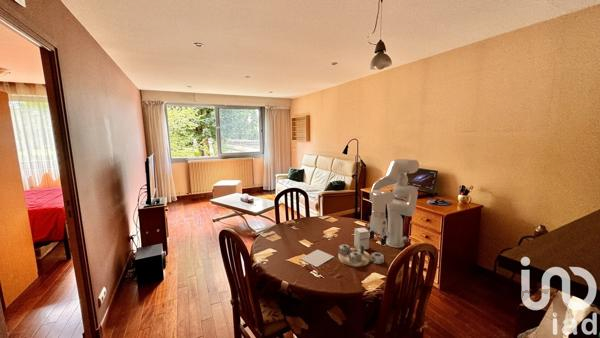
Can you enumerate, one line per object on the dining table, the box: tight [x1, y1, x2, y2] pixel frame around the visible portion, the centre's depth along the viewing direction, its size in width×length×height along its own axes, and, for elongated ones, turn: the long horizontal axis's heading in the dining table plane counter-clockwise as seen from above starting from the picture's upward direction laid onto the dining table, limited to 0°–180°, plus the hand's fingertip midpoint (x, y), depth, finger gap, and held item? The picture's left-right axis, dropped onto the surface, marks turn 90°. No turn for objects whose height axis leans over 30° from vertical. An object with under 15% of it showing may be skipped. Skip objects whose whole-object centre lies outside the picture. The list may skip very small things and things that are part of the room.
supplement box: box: [353, 227, 370, 250], centre depth 161 cm, size 7×7×13 cm
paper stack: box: [300, 249, 335, 268], centre depth 142 cm, size 23×25×1 cm
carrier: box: [338, 244, 371, 268], centre depth 147 cm, size 19×19×7 cm
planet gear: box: [370, 251, 385, 265], centre depth 143 cm, size 7×7×4 cm
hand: (377, 241), depth 141 cm, fingers open, 9 cm apart
